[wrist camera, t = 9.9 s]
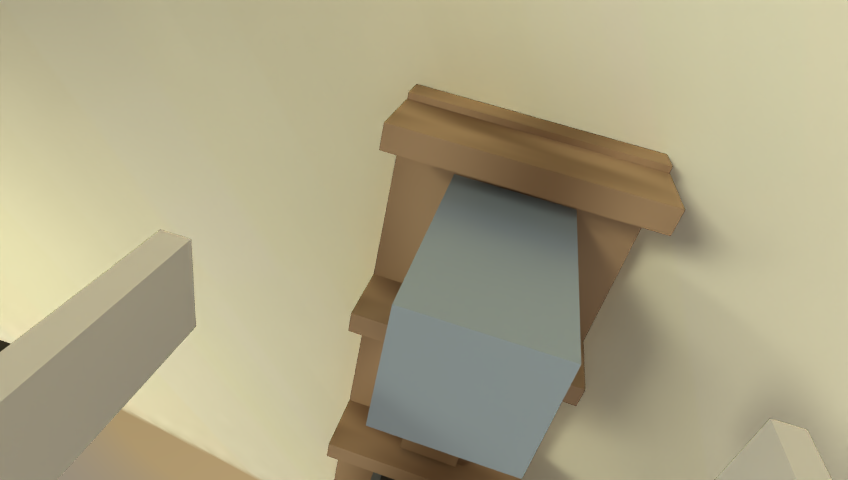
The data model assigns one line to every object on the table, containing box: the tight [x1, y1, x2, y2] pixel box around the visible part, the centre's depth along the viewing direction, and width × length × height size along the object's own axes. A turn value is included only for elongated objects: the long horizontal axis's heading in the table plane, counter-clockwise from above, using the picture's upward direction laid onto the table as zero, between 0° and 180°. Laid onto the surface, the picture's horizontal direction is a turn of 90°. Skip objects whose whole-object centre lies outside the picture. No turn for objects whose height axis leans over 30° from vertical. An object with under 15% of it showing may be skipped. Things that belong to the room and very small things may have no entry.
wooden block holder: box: [327, 84, 685, 480], centre depth 19 cm, size 8×22×8 cm, turn 168°
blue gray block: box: [366, 174, 581, 479], centre depth 15 cm, size 4×5×7 cm
